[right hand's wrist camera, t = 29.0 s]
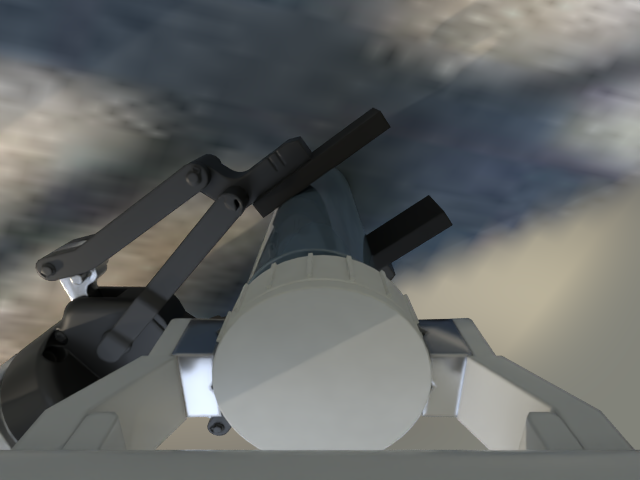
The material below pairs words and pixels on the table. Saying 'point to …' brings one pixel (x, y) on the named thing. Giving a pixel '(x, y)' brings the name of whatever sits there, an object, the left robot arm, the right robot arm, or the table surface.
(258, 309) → the lid
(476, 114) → the table surface
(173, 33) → the table surface
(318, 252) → the grey cylinder
